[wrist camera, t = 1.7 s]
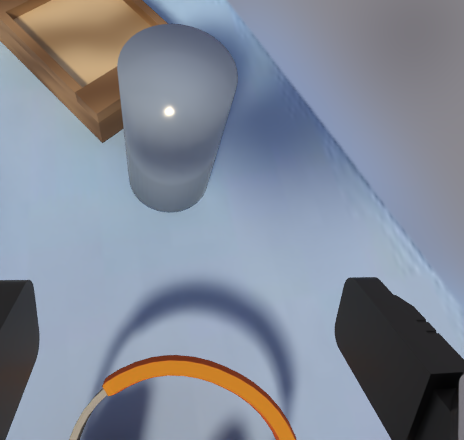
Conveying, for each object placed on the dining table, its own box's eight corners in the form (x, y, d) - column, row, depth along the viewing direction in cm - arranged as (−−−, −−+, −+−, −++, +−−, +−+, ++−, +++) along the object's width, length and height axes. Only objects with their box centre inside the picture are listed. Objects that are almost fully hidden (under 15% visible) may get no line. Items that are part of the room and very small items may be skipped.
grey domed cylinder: (118, 200, 28) (100, 99, 18) (142, 133, 30) (138, 9, 20) (197, 221, 28) (223, 135, 18) (215, 154, 31) (247, 44, 20)
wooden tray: (-5, 36, 31) (-23, -4, 27) (90, -13, 34) (84, -53, 31) (102, 142, 29) (96, 113, 26) (190, 81, 32) (195, 48, 29)
